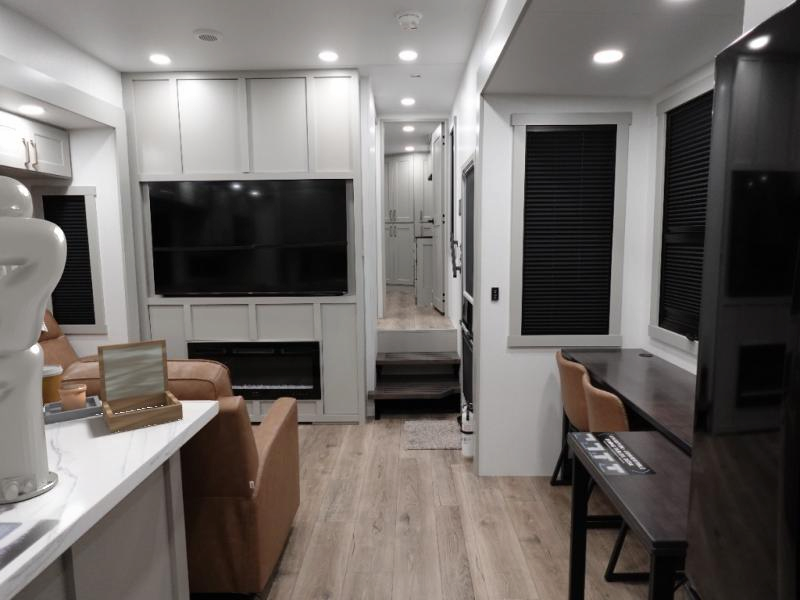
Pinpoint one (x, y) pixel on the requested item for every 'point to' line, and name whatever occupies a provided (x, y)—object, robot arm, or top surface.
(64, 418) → the slate tray
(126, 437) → the top surface
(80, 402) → the terracotta pot
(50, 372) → the disposable coffee cup
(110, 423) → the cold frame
